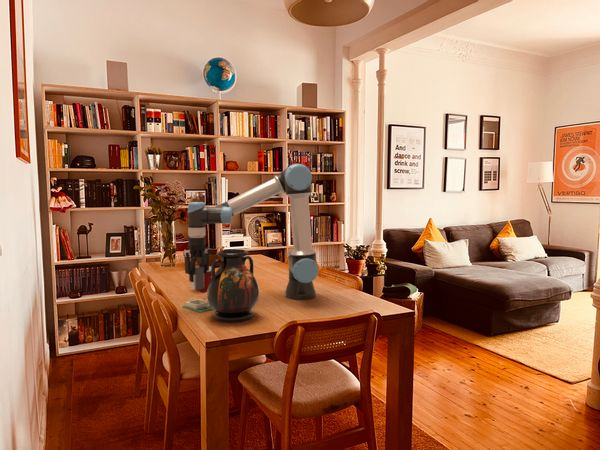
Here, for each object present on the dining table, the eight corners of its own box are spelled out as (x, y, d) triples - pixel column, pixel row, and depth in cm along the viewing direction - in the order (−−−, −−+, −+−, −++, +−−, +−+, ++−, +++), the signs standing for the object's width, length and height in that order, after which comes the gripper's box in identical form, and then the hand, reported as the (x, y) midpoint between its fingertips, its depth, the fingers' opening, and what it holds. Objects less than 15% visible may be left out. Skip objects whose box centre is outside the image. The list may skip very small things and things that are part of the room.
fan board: (216, 308, 201) (216, 301, 200) (200, 312, 194) (200, 305, 193) (198, 303, 209) (198, 296, 209) (182, 307, 202) (182, 300, 202)
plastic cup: (193, 293, 226) (193, 270, 225) (192, 288, 237) (191, 266, 236) (215, 292, 230) (214, 269, 228) (213, 287, 240) (212, 265, 239)
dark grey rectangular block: (203, 288, 202) (203, 266, 201) (196, 290, 199) (196, 267, 198) (197, 286, 205) (197, 265, 204) (190, 288, 202) (189, 266, 201)
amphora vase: (221, 329, 172) (220, 257, 169) (199, 315, 189) (197, 250, 187) (269, 319, 185) (268, 252, 182) (243, 307, 202) (243, 246, 199)
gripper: (206, 234, 208) (207, 283, 211) (175, 237, 195) (176, 289, 198) (217, 235, 204) (217, 286, 206) (185, 239, 191) (186, 292, 193)
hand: (197, 287), depth 202 cm, fingers closed on dark grey rectangular block, 4 cm apart
